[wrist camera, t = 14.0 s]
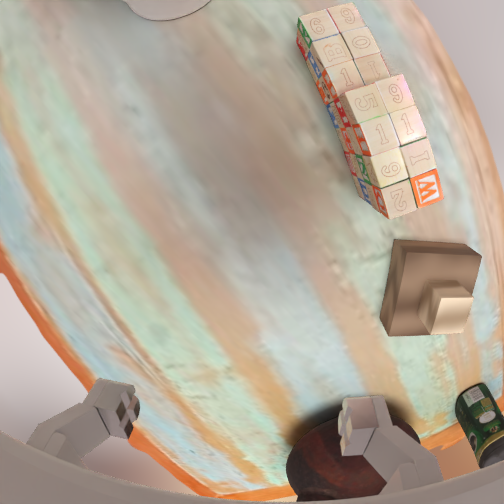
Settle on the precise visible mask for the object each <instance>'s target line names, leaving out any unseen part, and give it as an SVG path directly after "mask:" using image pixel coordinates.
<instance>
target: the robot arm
mask: <svg viewBox="0 0 504 504" xmlns="http://www.w3.org/2000/svg"><path fill="white" fill-rule="evenodd" d="M122 1H125V2H126V3H127V4H128V6H129V7H130V8H131V9H132V11H133V12H135V13H136V14H137V15H139V16H141V17H143V18H146V19H150V20H171V19H175V18H179V17H182V16H185V15H188V14H190V13H192V12H194V11H196V10H198V9H200V8H201V7H203V6H204V5H205V4H207V3H208V2H209V1H210V0H122ZM134 393H135V388H134V386H133V385H131V384H126V383H121V382H117V381H112V380H107V379H103V378H99V379H97V381H96V382H95V384H94V385H93V387H92V389H91V390H90V392H89V393H88V395H87V397H86V398H85V400H84V402H83V403H82V404H81V403H78V404H77V405H75V406H73V407H71V408H69V409H67V410H65V411H64V412H61V413H60V414H58V415H56V416H54V417H52V418H50V419H48V420H46V421H44V422H42V423H40V424H38V426H37V427H36V429H35V431H34V432H33V434H32V435H31V437H30V438H29V440H28V441H27V443H26V444H25V443H23V442H21V441H19V440H17V439H15V438H13V437H11V436H9V435H8V434H6V433H4V432H2V431H0V504H504V460H503V461H500V462H498V463H495V464H493V465H490V466H488V467H485V468H482V469H480V470H477V471H474V472H471V473H468V474H465V475H462V476H458V477H455V478H452V479H448V480H445V481H444V480H443V477H442V473H441V470H440V467H439V464H438V461H437V459H436V456H435V455H433V454H432V453H431V452H429V451H428V450H427V449H426V448H424V447H423V446H422V445H420V444H419V443H418V442H417V441H415V440H414V439H413V438H411V437H410V436H409V435H408V434H406V433H405V432H404V431H403V430H401V429H400V428H399V427H398V426H393V425H392V421H391V418H390V415H389V412H388V409H387V405H386V402H385V399H384V397H383V396H382V395H378V396H364V397H350V398H344V400H343V403H342V407H343V410H342V411H340V414H339V418H338V431H339V434H340V435H341V436H342V439H341V442H340V445H341V452H342V456H352V455H363V456H364V457H365V458H366V460H367V461H368V462H369V463H370V464H371V465H372V466H373V467H374V468H375V470H376V471H377V472H378V473H379V474H380V475H381V476H382V477H383V478H384V479H385V481H386V482H387V484H386V486H385V487H384V488H383V490H382V491H381V492H380V494H379V495H375V496H368V497H360V498H351V499H341V500H329V501H311V502H262V501H244V500H231V499H221V498H212V497H204V496H197V495H190V494H184V493H178V492H173V491H168V490H163V489H158V488H153V487H149V486H144V485H140V484H136V483H132V482H129V481H125V480H121V479H118V478H114V477H111V476H107V475H104V474H101V473H98V472H95V471H91V470H89V469H87V466H86V465H85V464H84V462H83V461H82V460H81V458H82V457H84V456H85V455H86V454H88V453H89V452H90V451H92V450H93V449H94V448H96V447H97V446H98V445H99V444H101V443H102V442H103V441H105V440H106V439H107V438H109V437H110V435H111V436H115V437H120V438H124V439H129V437H130V434H131V432H132V430H133V425H132V422H134V421H135V420H137V418H138V415H139V411H140V403H139V400H138V398H137V397H136V396H135V395H134Z"/></svg>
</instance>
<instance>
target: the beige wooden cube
mask: <svg viewBox="0 0 504 504" xmlns="http://www.w3.org/2000/svg"><path fill="white" fill-rule="evenodd" d="M473 299H474V297H473V296H472V295H471V294H470V293H469V292H468V291H467V290H466V289H465V288H464V287H463V286H462V285H461V284H460V283H459V282H458V281H457V280H425V284H424V289H423V293H422V297H421V301H420V305H419V309H418V312H417V315H418V316H419V318H420V319H421V321H422V322H423V324H424V325H425V327H426V329H427V330H428V332H429V333H430V335H436V334H453V333H462V332H463V330H464V327H465V324H466V321H467V318H468V315H469V312H470V309H471V306H472V302H473Z"/></svg>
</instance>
